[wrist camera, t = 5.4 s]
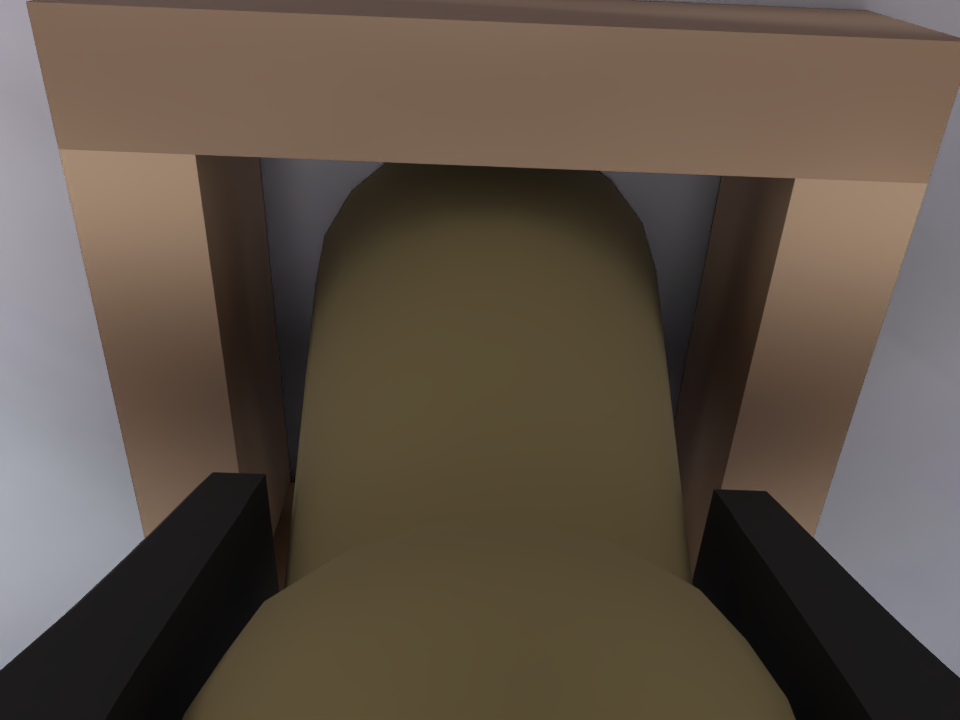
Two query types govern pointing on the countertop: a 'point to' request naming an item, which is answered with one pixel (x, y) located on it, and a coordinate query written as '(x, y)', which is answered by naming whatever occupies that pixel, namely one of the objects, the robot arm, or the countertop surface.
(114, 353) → the socket block
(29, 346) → the countertop surface
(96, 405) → the countertop surface
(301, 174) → the countertop surface
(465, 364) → the olive rounded peg
